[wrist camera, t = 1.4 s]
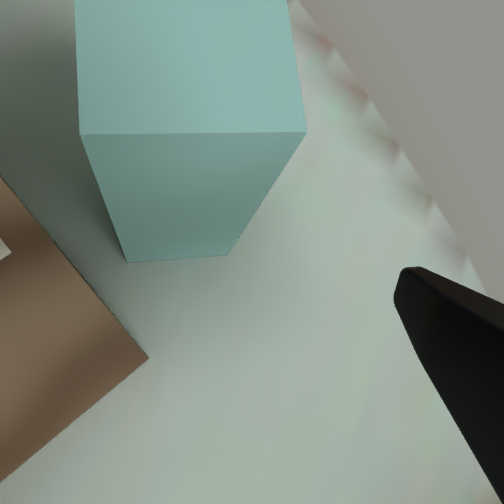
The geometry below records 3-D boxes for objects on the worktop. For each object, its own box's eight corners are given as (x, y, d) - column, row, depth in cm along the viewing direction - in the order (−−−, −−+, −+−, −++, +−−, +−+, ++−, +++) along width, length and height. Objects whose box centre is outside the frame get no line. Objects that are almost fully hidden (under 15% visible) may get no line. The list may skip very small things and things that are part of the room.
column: (227, 255, 22) (307, 131, 10) (127, 262, 21) (79, 134, 9) (217, 165, 24) (279, -47, 11) (121, 167, 22) (71, -64, 10)
